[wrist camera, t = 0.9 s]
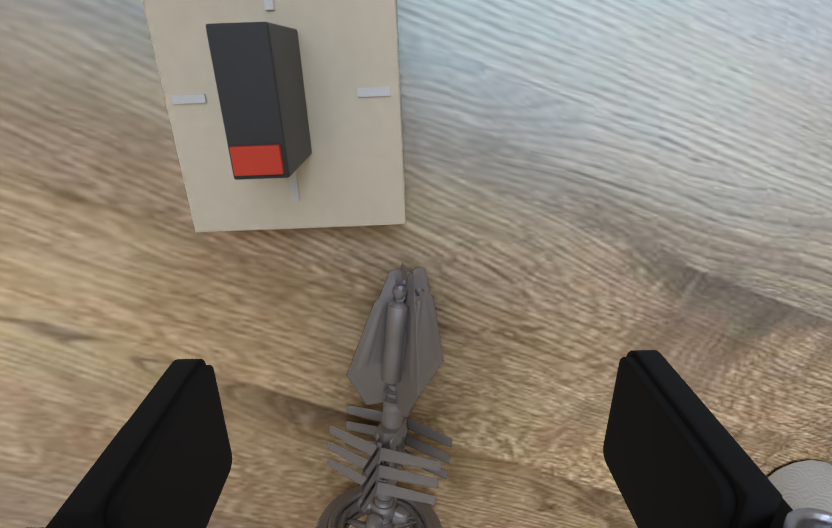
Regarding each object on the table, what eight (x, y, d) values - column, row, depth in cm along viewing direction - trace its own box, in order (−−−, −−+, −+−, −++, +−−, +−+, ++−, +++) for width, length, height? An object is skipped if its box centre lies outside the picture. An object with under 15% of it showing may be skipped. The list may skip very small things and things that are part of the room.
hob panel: (162, -53, 21) (122, -71, 18) (393, -61, 21) (392, -80, 18) (217, 214, 25) (193, 234, 23) (405, 206, 26) (406, 226, 23)
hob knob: (247, 30, 19) (200, 23, 15) (297, 29, 19) (265, 20, 15) (267, 155, 21) (231, 182, 17) (312, 154, 21) (287, 180, 17)
